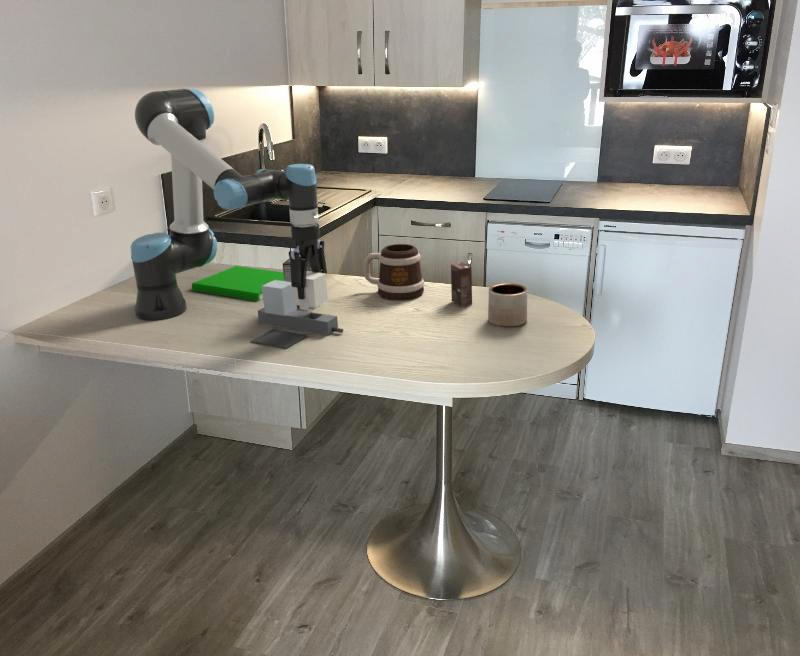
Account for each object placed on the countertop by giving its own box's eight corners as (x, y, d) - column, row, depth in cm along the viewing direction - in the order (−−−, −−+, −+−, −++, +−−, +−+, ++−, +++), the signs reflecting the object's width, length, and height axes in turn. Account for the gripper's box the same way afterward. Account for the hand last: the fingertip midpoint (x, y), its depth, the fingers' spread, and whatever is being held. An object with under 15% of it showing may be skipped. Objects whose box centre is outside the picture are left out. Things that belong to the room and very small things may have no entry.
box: (450, 301, 220) (450, 263, 216) (463, 299, 222) (463, 261, 218) (459, 307, 215) (459, 268, 211) (472, 305, 217) (472, 266, 213)
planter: (484, 326, 200) (484, 293, 197) (492, 313, 210) (493, 281, 206) (522, 329, 197) (523, 296, 193) (530, 316, 206) (531, 284, 203)
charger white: (294, 308, 199) (292, 276, 196) (307, 302, 204) (304, 270, 201) (315, 312, 196) (313, 279, 193) (328, 305, 201) (325, 273, 198)
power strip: (259, 323, 208) (257, 309, 207) (269, 318, 213) (268, 304, 211) (337, 337, 196) (336, 322, 195) (347, 331, 200) (346, 316, 199)
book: (237, 273, 259) (236, 265, 258) (300, 283, 246) (299, 274, 245) (192, 291, 241) (191, 283, 240) (258, 303, 228) (257, 294, 227)
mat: (250, 342, 195) (250, 341, 195) (273, 330, 203) (272, 328, 203) (286, 349, 190) (286, 347, 190) (308, 336, 198) (307, 334, 198)
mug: (430, 287, 234) (429, 242, 229) (417, 302, 221) (415, 255, 215) (372, 284, 240) (370, 240, 235) (356, 298, 227) (353, 252, 221)
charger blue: (265, 316, 206) (261, 285, 202) (278, 310, 211) (274, 279, 207) (285, 320, 203) (281, 288, 199) (297, 313, 207) (294, 282, 204)
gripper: (295, 233, 182) (302, 318, 191) (336, 217, 198) (341, 297, 206) (271, 230, 186) (279, 314, 194) (313, 215, 201) (319, 293, 210)
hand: (311, 305), depth 200 cm, fingers closed on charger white, 6 cm apart
